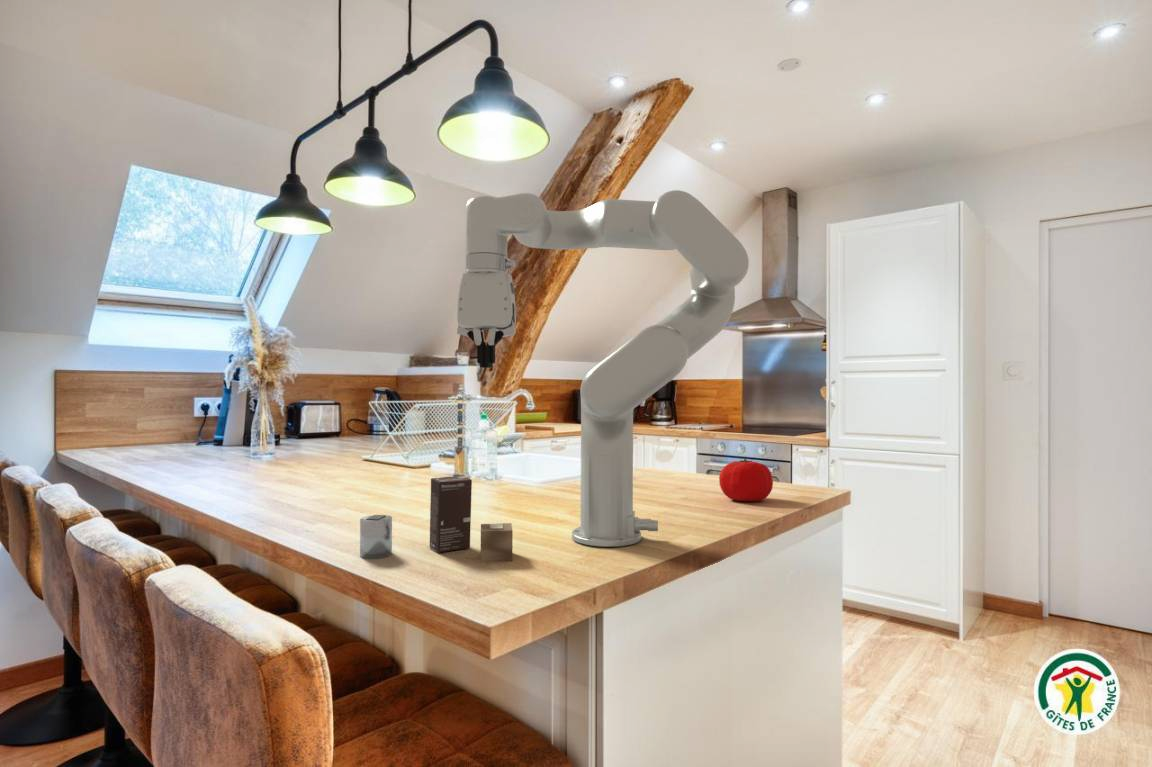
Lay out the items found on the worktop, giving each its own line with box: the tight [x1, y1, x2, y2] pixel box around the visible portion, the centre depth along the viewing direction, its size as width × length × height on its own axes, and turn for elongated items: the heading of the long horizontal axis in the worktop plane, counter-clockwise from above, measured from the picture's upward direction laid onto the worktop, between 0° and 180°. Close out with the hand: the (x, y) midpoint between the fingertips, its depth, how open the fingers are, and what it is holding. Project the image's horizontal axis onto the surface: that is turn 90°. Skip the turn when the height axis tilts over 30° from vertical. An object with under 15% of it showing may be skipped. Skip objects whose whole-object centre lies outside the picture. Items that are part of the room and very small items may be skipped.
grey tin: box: [359, 514, 393, 560], centre depth 101 cm, size 5×5×6 cm
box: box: [429, 475, 473, 554], centre depth 105 cm, size 6×4×12 cm
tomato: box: [718, 458, 774, 502], centre depth 149 cm, size 11×13×10 cm
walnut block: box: [480, 522, 513, 563], centre depth 100 cm, size 5×5×5 cm
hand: (486, 367), depth 112 cm, fingers closed
